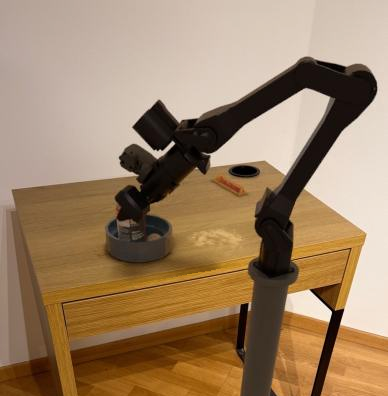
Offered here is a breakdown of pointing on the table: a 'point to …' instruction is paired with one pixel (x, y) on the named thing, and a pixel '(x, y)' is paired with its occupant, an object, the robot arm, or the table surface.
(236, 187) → the chocolate bar
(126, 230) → the supplement bottle
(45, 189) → the table surface
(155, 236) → the bead
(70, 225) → the table surface
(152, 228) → the bowl
